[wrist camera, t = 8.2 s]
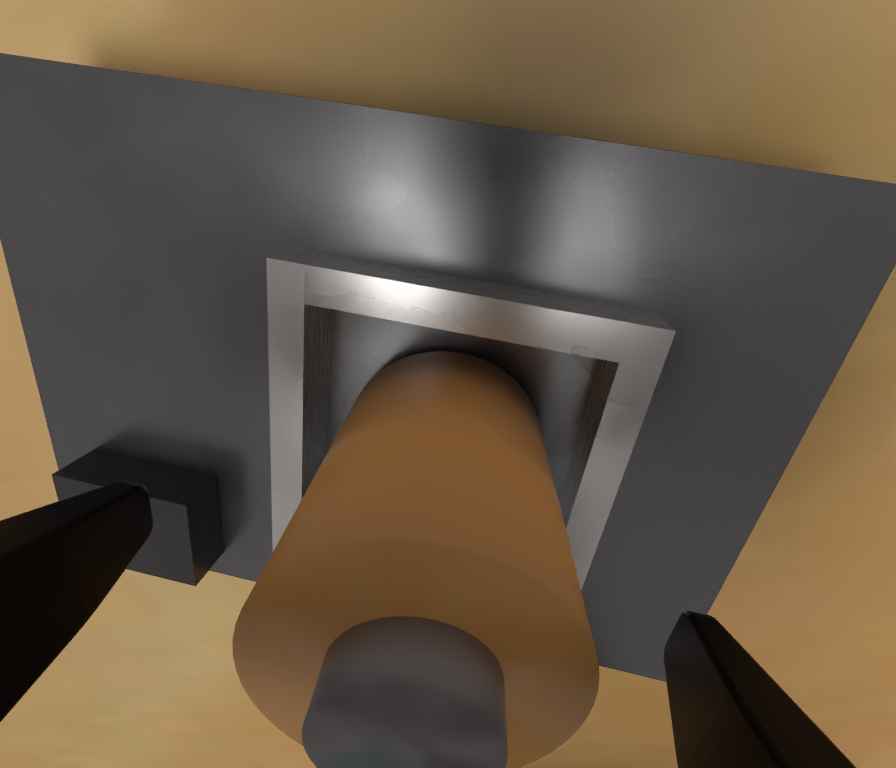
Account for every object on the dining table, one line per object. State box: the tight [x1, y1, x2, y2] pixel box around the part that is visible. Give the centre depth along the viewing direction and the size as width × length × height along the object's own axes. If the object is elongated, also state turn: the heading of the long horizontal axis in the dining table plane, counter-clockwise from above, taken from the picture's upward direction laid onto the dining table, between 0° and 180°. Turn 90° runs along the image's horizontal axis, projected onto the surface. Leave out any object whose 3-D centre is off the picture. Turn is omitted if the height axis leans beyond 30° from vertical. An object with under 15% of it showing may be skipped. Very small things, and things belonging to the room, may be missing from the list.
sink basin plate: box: [0, 53, 896, 682], centre depth 13 cm, size 20×14×5 cm
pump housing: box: [233, 351, 599, 768], centre depth 9 cm, size 5×7×7 cm
